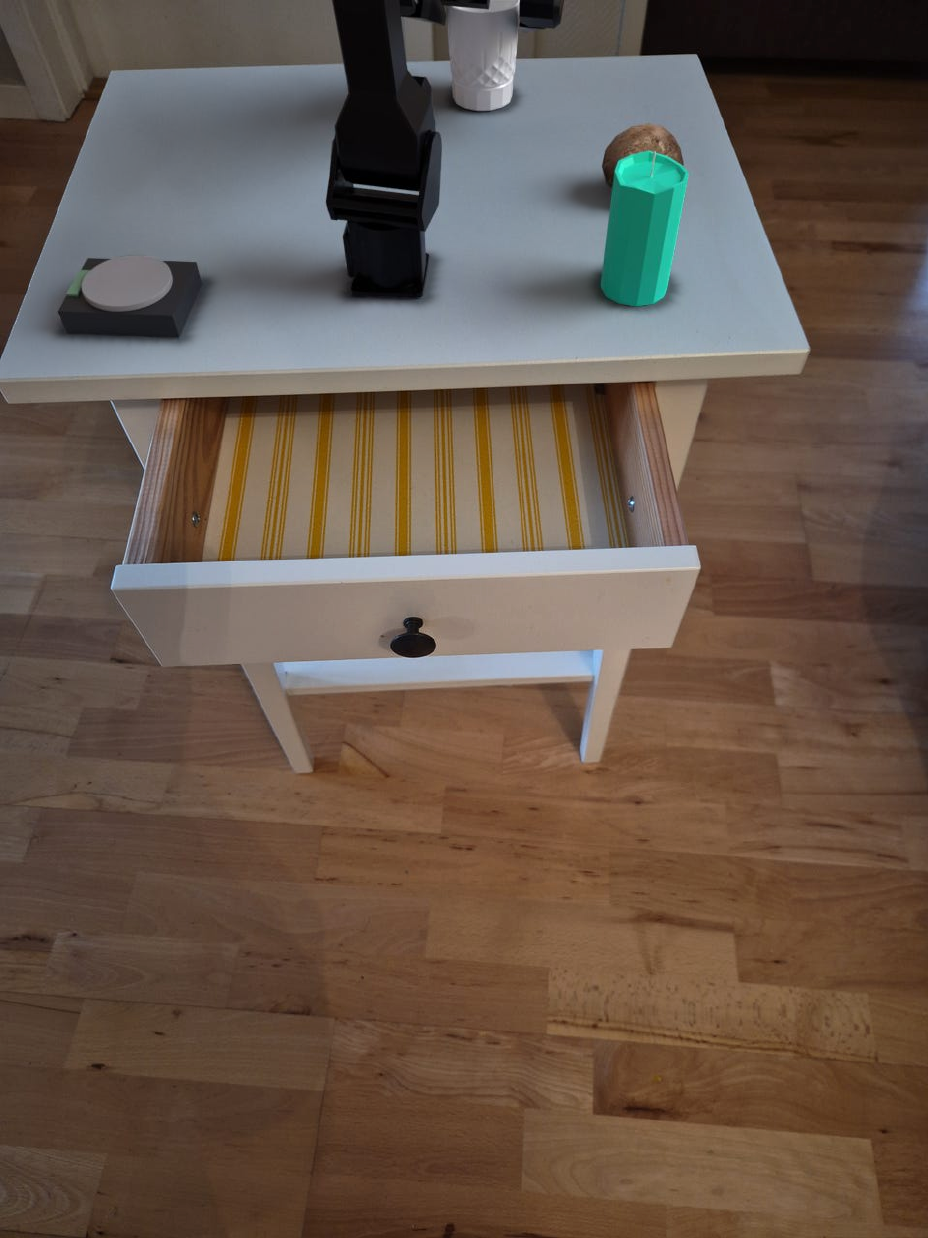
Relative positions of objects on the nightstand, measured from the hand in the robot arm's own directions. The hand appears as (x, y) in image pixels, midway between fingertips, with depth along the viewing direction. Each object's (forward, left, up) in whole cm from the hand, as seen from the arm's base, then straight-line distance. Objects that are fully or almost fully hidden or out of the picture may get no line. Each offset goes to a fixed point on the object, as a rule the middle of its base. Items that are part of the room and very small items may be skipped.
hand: (485, 24), depth 98 cm
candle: (-16, +37, -7) cm, 41 cm away
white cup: (0, +1, -7) cm, 7 cm away
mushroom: (-17, +21, -7) cm, 28 cm away
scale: (+28, +43, -7) cm, 52 cm away
